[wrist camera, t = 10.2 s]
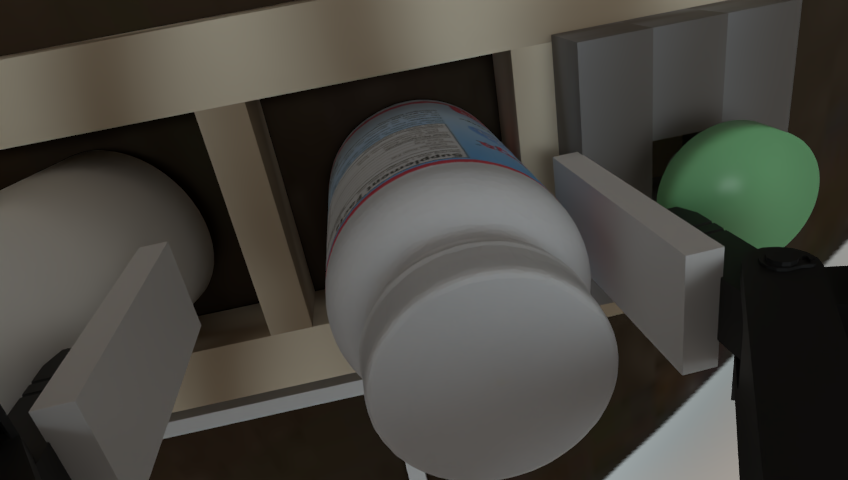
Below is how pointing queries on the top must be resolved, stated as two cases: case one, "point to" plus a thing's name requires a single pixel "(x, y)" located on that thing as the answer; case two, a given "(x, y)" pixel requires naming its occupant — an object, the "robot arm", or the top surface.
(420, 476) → the white rectangular frame
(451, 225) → the pill bottle
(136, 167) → the white canister
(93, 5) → the top surface
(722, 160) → the button
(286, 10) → the wooden divided rack
